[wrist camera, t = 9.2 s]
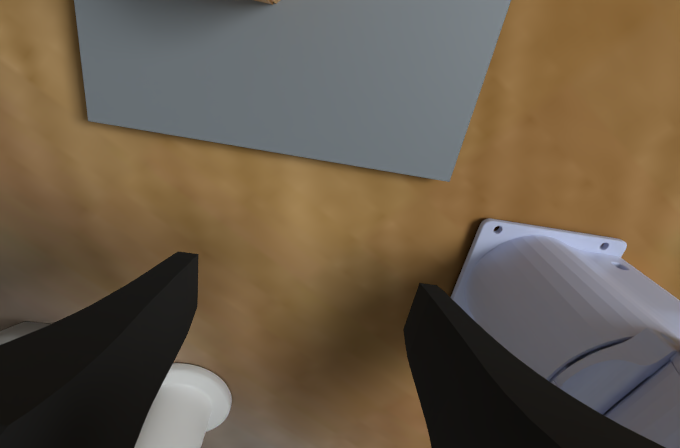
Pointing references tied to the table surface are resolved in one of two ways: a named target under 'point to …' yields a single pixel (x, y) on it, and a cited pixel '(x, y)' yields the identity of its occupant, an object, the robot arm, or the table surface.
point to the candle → (185, 408)
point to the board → (295, 74)
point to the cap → (268, 1)
